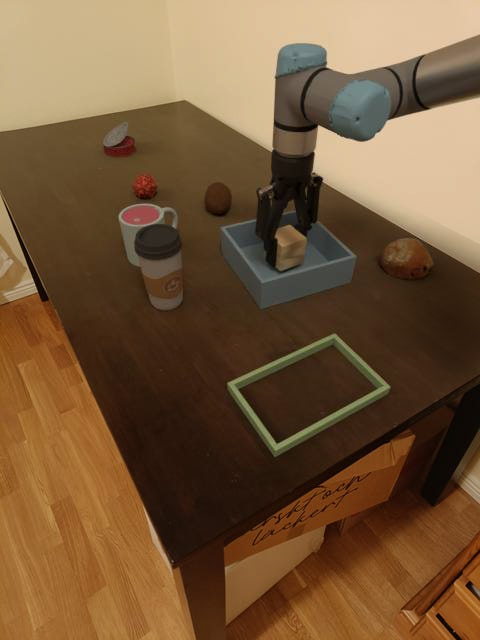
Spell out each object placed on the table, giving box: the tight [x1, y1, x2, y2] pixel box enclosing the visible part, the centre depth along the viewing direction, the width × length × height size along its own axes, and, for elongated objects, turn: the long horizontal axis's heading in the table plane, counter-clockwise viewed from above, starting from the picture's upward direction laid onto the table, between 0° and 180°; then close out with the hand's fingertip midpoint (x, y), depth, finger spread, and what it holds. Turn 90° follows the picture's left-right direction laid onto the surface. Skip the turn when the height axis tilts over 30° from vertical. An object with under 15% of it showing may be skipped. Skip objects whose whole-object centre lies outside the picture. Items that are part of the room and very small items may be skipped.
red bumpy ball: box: [131, 174, 159, 199], centre depth 113 cm, size 6×7×8 cm
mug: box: [118, 203, 179, 268], centre depth 93 cm, size 14×9×10 cm
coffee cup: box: [134, 223, 184, 312], centre depth 79 cm, size 8×8×15 cm
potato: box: [204, 181, 233, 215], centre depth 107 cm, size 7×10×7 cm
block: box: [265, 225, 307, 271], centre depth 88 cm, size 6×6×6 cm
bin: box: [219, 210, 358, 310], centre depth 90 cm, size 21×21×6 cm
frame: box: [227, 332, 392, 458], centre depth 67 cm, size 22×14×2 cm, turn 120°
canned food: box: [102, 121, 137, 158], centre depth 134 cm, size 11×10×10 cm
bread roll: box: [379, 237, 435, 281], centre depth 90 cm, size 10×10×8 cm
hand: (284, 258), depth 90 cm, fingers closed on block, 6 cm apart
